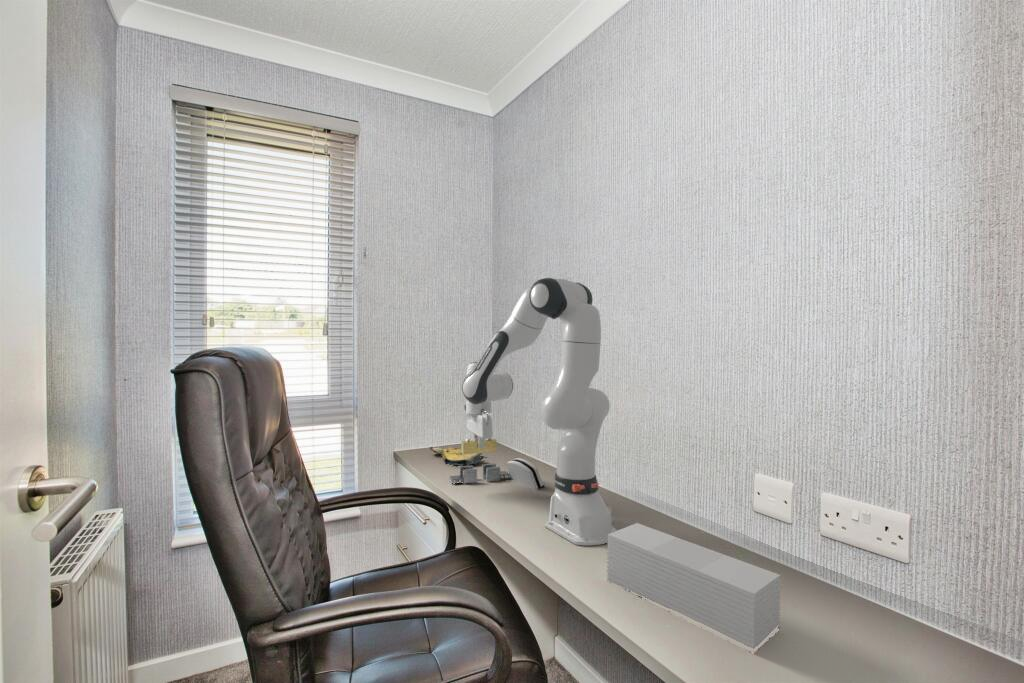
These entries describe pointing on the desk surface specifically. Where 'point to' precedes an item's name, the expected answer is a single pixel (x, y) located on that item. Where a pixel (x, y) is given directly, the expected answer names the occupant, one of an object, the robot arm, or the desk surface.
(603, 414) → the robot arm
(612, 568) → the stack of papers
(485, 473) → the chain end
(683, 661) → the desk surface
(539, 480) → the grey half-round block
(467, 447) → the brass block with peg
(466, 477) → the chain end
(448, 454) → the pulley block
